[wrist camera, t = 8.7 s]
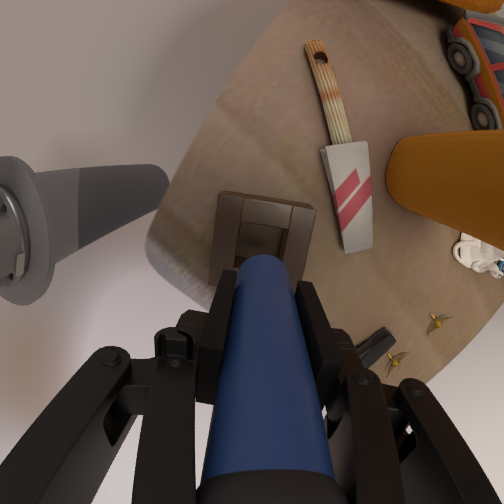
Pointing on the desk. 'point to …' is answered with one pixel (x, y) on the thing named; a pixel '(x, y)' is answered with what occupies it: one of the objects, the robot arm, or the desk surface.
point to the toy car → (480, 64)
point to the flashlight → (453, 180)
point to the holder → (263, 213)
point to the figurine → (397, 361)
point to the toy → (501, 266)
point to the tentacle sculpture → (478, 255)
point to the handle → (266, 403)
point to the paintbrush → (343, 159)
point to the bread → (476, 5)
